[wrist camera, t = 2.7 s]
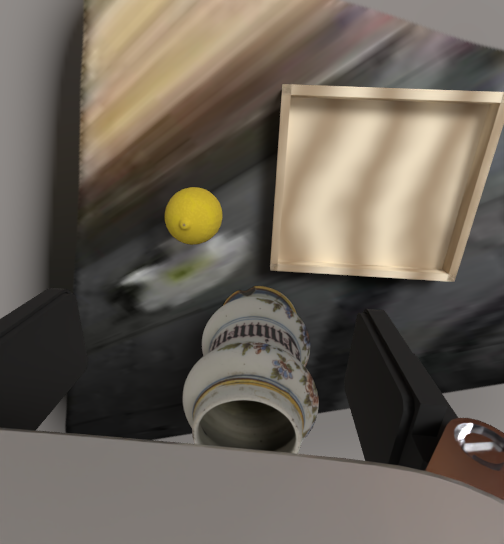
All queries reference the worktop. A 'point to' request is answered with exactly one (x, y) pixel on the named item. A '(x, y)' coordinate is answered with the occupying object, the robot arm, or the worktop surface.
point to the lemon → (193, 215)
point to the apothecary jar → (252, 376)
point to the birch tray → (380, 179)
